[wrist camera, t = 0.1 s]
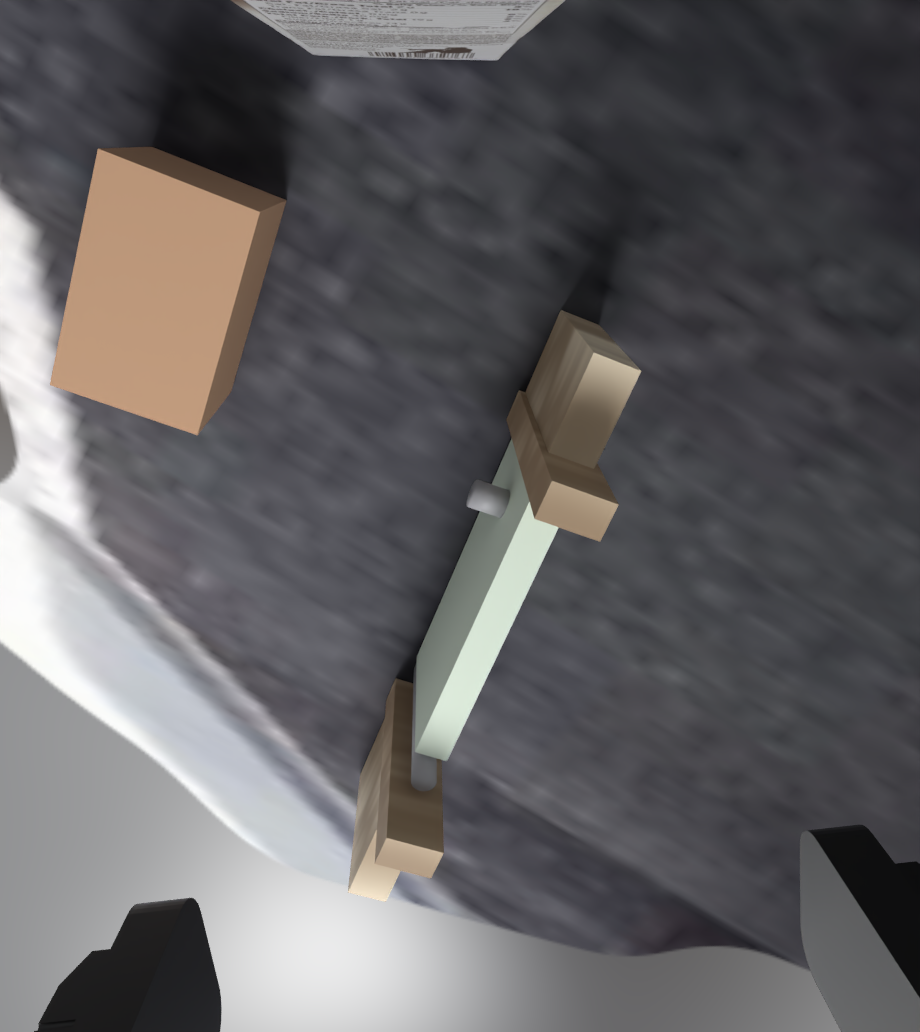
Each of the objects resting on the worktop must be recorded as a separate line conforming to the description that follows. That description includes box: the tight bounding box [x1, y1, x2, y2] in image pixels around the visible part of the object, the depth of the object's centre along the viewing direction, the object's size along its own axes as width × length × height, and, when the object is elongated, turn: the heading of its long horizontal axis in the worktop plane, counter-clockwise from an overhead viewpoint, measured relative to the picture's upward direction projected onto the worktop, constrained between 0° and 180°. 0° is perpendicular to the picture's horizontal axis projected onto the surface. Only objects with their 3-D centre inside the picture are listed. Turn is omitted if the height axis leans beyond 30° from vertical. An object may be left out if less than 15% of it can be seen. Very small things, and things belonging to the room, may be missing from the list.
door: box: [411, 438, 559, 791], centre depth 31 cm, size 11×2×7 cm, turn 159°
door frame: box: [348, 310, 641, 902], centre depth 30 cm, size 22×2×9 cm, turn 159°
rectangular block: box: [50, 147, 286, 435], centre depth 27 cm, size 7×4×5 cm, turn 159°
